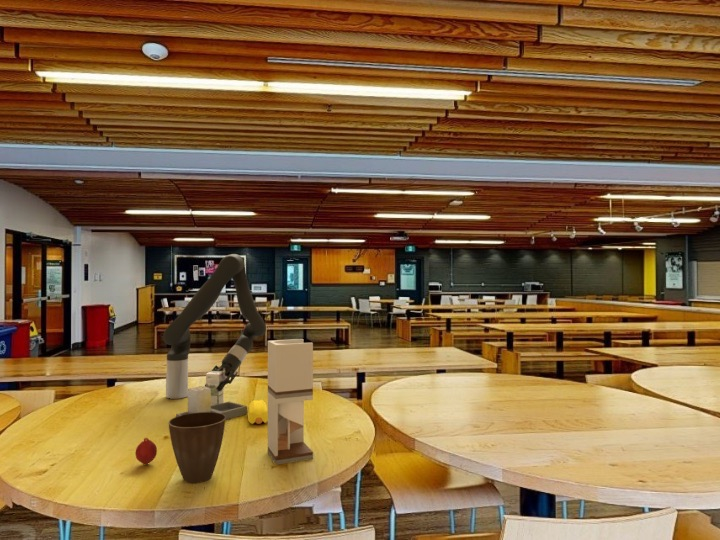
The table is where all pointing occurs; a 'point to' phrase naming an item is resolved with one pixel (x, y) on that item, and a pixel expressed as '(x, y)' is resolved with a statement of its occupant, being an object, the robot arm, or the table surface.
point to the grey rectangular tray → (226, 409)
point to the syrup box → (215, 386)
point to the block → (199, 399)
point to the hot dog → (257, 412)
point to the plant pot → (197, 443)
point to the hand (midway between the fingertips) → (212, 388)
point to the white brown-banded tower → (288, 398)
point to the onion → (146, 451)
